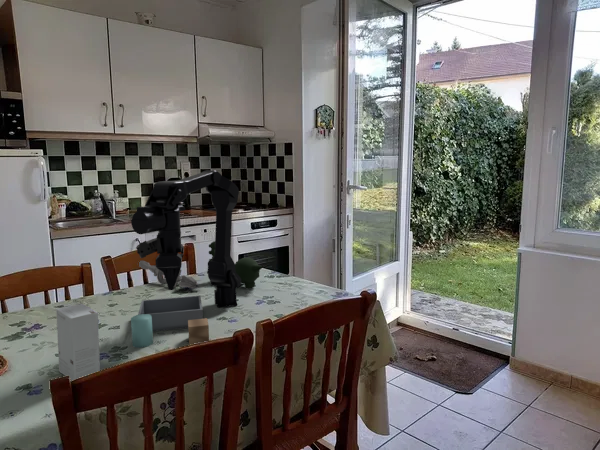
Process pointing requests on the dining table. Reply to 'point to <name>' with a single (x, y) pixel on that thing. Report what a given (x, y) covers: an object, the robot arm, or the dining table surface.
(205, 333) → the walnut block
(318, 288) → the dining table surface
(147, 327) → the teal capsule
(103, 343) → the dining table surface
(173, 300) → the tote
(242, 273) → the toy figurine
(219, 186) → the robot arm
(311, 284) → the dining table surface
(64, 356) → the skincare box
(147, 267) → the spaceship
